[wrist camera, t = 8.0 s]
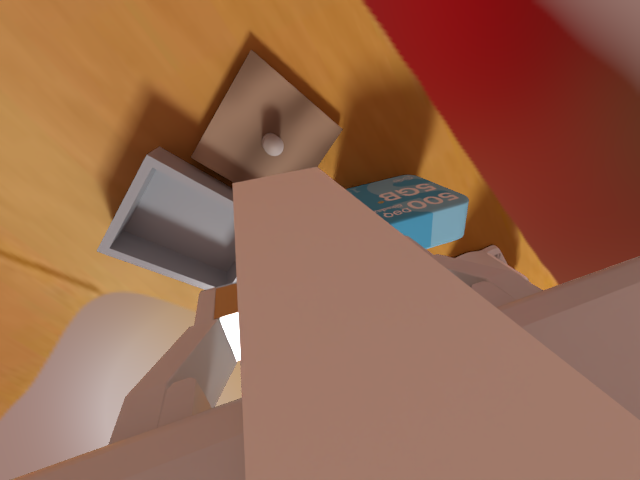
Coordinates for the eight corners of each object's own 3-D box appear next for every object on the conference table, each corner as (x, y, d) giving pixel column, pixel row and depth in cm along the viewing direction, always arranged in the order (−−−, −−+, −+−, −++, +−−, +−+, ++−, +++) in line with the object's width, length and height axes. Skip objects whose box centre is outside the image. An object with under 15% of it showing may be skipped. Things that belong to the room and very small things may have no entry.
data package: (410, 172, 38) (476, 199, 28) (409, 202, 40) (470, 236, 30) (331, 191, 36) (371, 228, 26) (334, 221, 38) (373, 266, 28)
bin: (272, 211, 35) (278, 226, 31) (229, 275, 37) (229, 298, 33) (159, 146, 28) (146, 154, 24) (115, 230, 30) (96, 251, 26)
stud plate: (338, 128, 32) (351, 131, 29) (283, 208, 35) (289, 220, 32) (250, 51, 27) (253, 44, 23) (192, 154, 29) (187, 162, 26)
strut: (316, 166, 14) (751, 507, 2) (325, 238, 16) (576, 602, 5) (232, 183, 13) (262, 842, 2) (253, 256, 16) (333, 763, 4)
